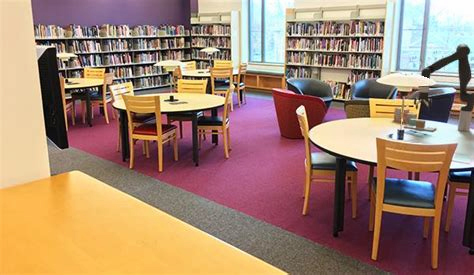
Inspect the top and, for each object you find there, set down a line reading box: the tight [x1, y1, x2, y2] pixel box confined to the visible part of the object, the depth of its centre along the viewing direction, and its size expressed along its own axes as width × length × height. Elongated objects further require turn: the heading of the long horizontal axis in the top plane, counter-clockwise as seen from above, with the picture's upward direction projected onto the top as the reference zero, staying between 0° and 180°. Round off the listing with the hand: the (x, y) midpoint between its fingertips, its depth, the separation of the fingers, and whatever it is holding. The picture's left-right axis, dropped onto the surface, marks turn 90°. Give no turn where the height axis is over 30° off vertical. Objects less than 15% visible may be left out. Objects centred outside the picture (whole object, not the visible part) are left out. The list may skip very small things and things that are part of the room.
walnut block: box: [416, 119, 426, 128], centre depth 361 cm, size 6×6×6 cm
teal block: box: [409, 118, 420, 125], centre depth 374 cm, size 6×6×6 cm
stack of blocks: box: [393, 107, 418, 124], centre depth 390 cm, size 21×6×12 cm, turn 27°
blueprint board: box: [403, 123, 437, 133], centre depth 362 cm, size 12×24×2 cm, turn 52°
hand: (422, 109), depth 359 cm, fingers open, 8 cm apart
